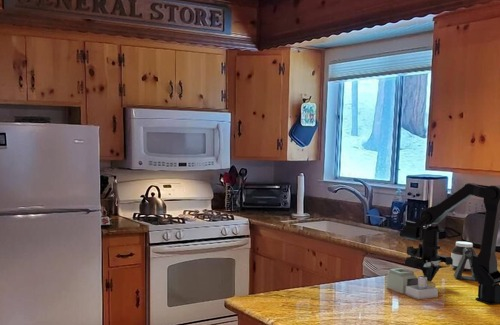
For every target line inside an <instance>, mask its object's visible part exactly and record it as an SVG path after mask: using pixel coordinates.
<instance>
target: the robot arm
mask: <svg viewBox="0 0 500 325" xmlns="http://www.w3.org/2000/svg"><path fill="white" fill-rule="evenodd" d="M472 196H474V197H478V198H482V199H483V204H484V208H485V214H484V223H483V229H482V236H481V244H480V250H479V252H478V254H477V253H476V255H474V256H473V263H472V265H471V267H473V273H474V274H475V276H476V278H477V281H476V282H477V284H478V285H477V287H478V288H477V297H475V300H477V301H479V302H482V303H484V304H489V305H498V304H500V271H499V270H498V260H497V256H496V247H497V241H498V233H499V228H500V227H499V226H500V184H497V185H496V184H495V185H483V184H479V183H474V182H471V183H466V184H464V185H463V187H461V188H459V189H458V190H457V191H455V192H454V193H452V194H451V195H449V196H447V197H446V198H445V199H444V200H442V201H441V202H440V203H437V204H435V205H433V206H429V207H427V208H425V209H423V210H422V211H421V212H420V216H419V218H418V219H417V220H416V221H412V220H405V222H404V225H403V226H402V229H401V236H402V238H403V239H407V240H414V241H420V240H421V243H418V247H414V246H407V247H406V255H407V257H405V259H404V265H405V266H408V267H412V268H416V269H420V270H421V271H422V274H423V275H422V276H425V277H427V281H431V282H433V279H434V278H435V276H436V274H437V272H439V270H440V269H442V265H439V263H444V264H445V266H450V265H451V266H452V265H453V259H452V258H451V256H449V255H446V254H445V255H444V254H438V252H439V251H438V250H440V249H441V245H439V233H441V232H445V229H444V228H443V227H442V226H441V224H439V223H441V221H442V220H444V218H446V216H447V215H448V213H449V212H451V211H452V210H453V209H455V208H456V207H458V206H459V205H461V204H463V203H464V202H465V201H467V200H468V199H469V198H471V197H472ZM435 225H436V226H435Z"/></svg>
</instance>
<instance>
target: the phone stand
mask: <svg viewBox="0 0 500 325" xmlns="http://www.w3.org/2000/svg"><path fill="white" fill-rule="evenodd" d="M468 249H469V248H468ZM469 250H470V249H469ZM467 251H468V250H467V249H466V248H464V249H463V255H462V258H461V260H460V262H459V264H458V266H457V269H455V271H454V273H453V276H454V278H455V280H460V281H471V282H472V281H474V282H478V281H477V278H476V276H475V274H474V273H473V267H471V265H472V263H473V252H472V251H471V250H470V253H469V254H467V255H466V252H467ZM467 259H469V263H470V267H471V271H470V272H471V276H469V275H463V273H464V271H463V270H464V267H465V264H466V261H467Z"/></svg>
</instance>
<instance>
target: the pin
mask: <svg viewBox="0 0 500 325" xmlns="http://www.w3.org/2000/svg"><path fill="white" fill-rule="evenodd" d="M417 278H418V286H417V290H424V289H427V277H425V276H424V275H418V276H417Z"/></svg>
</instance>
